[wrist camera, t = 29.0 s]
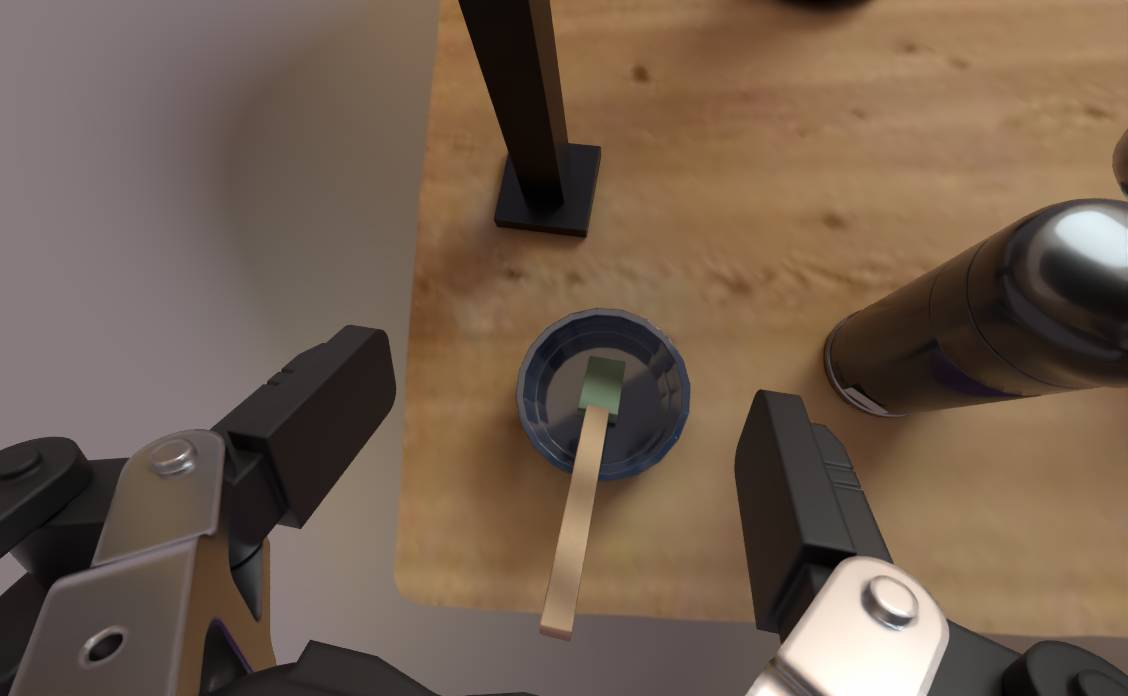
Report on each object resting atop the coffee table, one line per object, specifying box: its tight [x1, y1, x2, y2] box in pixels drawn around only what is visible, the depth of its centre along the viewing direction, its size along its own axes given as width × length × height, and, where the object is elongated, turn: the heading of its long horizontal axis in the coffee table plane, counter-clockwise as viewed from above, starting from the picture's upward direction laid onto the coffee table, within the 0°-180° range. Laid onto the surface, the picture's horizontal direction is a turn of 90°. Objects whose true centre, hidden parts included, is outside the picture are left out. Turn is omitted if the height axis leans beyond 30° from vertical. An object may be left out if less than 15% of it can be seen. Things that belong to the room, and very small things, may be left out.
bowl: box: [516, 308, 690, 482], centre depth 40 cm, size 13×13×6 cm
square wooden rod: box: [540, 356, 626, 641], centre depth 35 cm, size 22×3×2 cm
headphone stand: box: [458, 0, 601, 237], centre depth 33 cm, size 14×9×31 cm, turn 170°
